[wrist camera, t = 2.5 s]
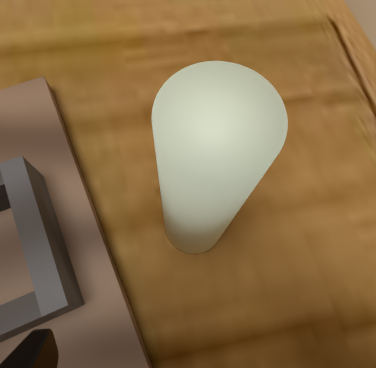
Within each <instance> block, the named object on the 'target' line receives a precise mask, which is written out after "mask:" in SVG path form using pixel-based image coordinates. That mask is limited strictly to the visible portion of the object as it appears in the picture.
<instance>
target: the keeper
mask: <svg viewBox="0 0 376 368" xmlns="http://www.w3.org/2000/svg"><path fill="white" fill-rule="evenodd" d="M44 328H50V329H51V330H52V331H53V334H54V337H55V341H56V344H57V348H58V353H59V358H58V365H57V368H152V365H151V362H150V359H149V356H148V354H147V351H146V348H145V345H144V343H143V340H142V337H141V334H140V332H139V329H138V326H137V323H136V321H135V318H134V315H133V312H132V310H131V307H130V304H129V301H128V299H127V296H126V293H125V290H124V288H123V285H122V282H121V279H120V277H119V274H118V271H117V268H116V266H115V263H114V260H113V257H112V255H111V252H110V249H109V246H108V244H107V241H106V238H105V235H104V233H103V230H102V227H101V224H100V222H99V219H98V216H97V213H96V211H95V208H94V205H93V202H92V200H91V197H90V194H89V191H88V189H87V186H86V183H85V180H84V178H83V175H82V172H81V169H80V167H79V164H78V161H77V158H76V156H75V153H74V150H73V147H72V144H71V142H70V139H69V136H68V133H67V131H66V128H65V125H64V122H63V120H62V117H61V114H60V111H59V109H58V106H57V103H56V100H55V98H54V95H53V92H52V89H51V88H50V86H49V84H48V83H47V81H46V79H45V77H44V76H43V77H40V78H37V79H33V80H30V81H27V82H24V83H21V84H18V85H15V86H12V87H8V88H5V89H2V90H0V364H1V363H2V362H3V361H4V360H5V358H6V357H7V356H8V355H9V354H10V353H11V352H12V351H13V350H14V349H15V348H16V347H17V346H18V345H19V344H20V343H21V342H22V341H23V340H24V339H25V338H26V337H27V335H28V334H29V333H30V332H31V331H33V330H35V329H44Z"/></svg>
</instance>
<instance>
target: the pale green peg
mask: <svg viewBox="0 0 376 368" xmlns="http://www.w3.org/2000/svg"><path fill="white" fill-rule="evenodd" d="M152 127H153V135H154V143H155V151H156V159H157V167H158V175H159V183H160V191H161V199H162V207H163V216H164V224H165V231H166V234H167V237H168V239H169V241H170V242H171V243H172V244H173V246H175V247H176V248H177V249H179V250H180V251H183V252H185V253H190V254H198V253H202V252H205V251H207V250H209V249H210V248H212V247H213V246H214V245H215V244H216V242H217V241H218V240H219V238H220V237H221V235H222V234H223V233H224V231H225V230H226V228H227V227H228V225H229V224H230V222H231V221H232V220H233V218H234V217H235V215H236V214H237V212H238V211H239V210H240V208H241V207H242V205H243V204H244V202H245V201H246V200H247V198H248V197H249V195H250V194H251V192H252V191H253V190H254V188H255V187H256V185H257V184H258V182H259V181H260V180H261V178H262V177H263V175H264V174H265V172H266V171H267V169H268V168H269V167H270V165H271V164H272V162H273V161H274V159H275V158H276V157H277V155H278V154H279V152H280V150H281V149H282V147H283V144H284V142H285V139H286V135H287V128H288V120H287V113H286V109H285V106H284V103H283V101H282V99H281V97H280V95H279V94H278V92H277V91H276V89H275V88H274V87H273V86H272V85H271V84H270V83H269V82H268V81H267V80H266V79H265V78H264V77H263V76H261V75H260V74H258V73H257V72H255V71H253V70H251V69H249V68H247V67H245V66H242V65H239V64H235V63H231V62H225V61H207V62H201V63H197V64H193V65H190V66H188V67H186V68H183V69H182V70H180V71H178V72H177V73H175V74H174V75H173V76H171V77H170V78H169V79H168V80H167V81H166V82H165V83H164V85H163V86H162V87H161V89H160V90H159V92H158V94H157V96H156V98H155V101H154V104H153V109H152Z"/></svg>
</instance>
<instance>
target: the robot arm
mask: <svg viewBox="0 0 376 368" xmlns="http://www.w3.org/2000/svg"><path fill="white" fill-rule="evenodd" d="M58 358H59V353H58V348H57V344H56V341H55V337H54V334H53V331H52V330H51V329H50V328H44V329H35V330H33V331H31V332H30V333H29V334H28V335H27V337H26V338H25V339H24V340H23V341H22V342H21V343H20V344H19V345H18V346H17V347H16V348H15V349H14V350H13V351H12V352H11V353H10V354H9V355H8V356H7V357H6V358H5V360H4V361H3V362H2V363H1V364H0V368H57V365H58Z"/></svg>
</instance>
